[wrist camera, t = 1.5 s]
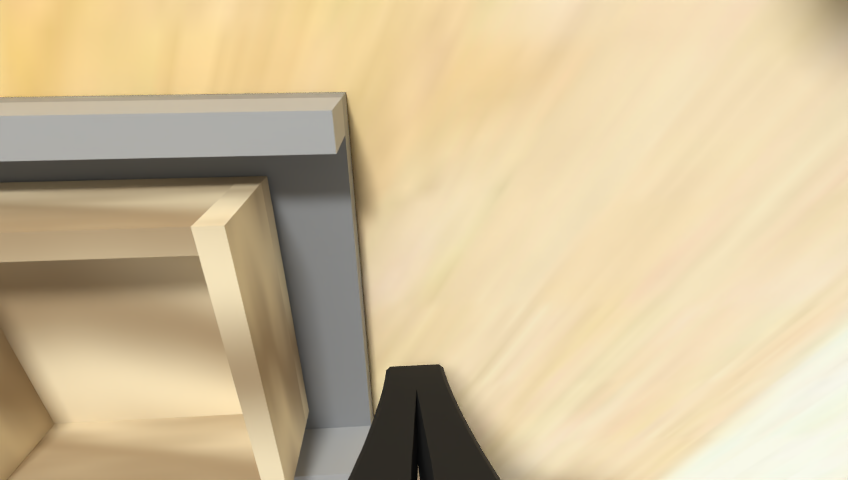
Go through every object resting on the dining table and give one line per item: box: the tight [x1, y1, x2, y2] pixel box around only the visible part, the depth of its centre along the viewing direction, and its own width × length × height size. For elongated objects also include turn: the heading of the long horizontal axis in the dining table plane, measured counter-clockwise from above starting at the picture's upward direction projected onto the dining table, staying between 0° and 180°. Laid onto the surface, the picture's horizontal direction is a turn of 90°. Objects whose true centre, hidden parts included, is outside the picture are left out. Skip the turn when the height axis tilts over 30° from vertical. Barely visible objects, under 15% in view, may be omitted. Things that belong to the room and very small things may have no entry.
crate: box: [0, 176, 309, 480], centre depth 12 cm, size 9×9×3 cm
